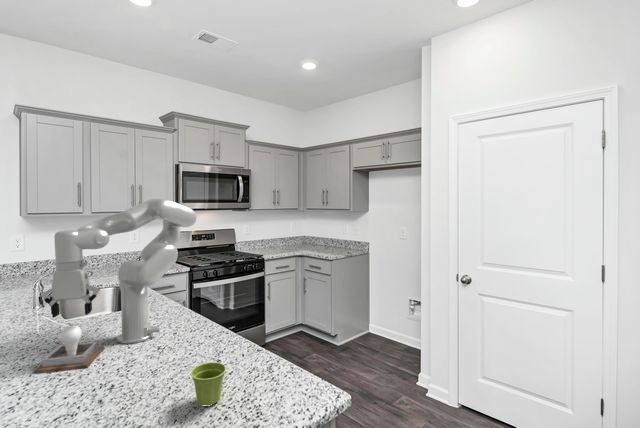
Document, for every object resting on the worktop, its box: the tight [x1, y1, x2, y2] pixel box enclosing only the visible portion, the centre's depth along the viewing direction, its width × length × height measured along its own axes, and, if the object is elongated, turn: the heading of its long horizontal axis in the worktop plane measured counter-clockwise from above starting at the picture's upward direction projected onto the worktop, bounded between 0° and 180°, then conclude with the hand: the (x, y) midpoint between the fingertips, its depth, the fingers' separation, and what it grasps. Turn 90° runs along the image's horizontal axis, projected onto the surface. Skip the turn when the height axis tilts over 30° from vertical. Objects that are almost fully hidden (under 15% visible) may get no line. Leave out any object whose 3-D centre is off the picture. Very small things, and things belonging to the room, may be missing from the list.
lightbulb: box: [59, 325, 83, 356], centre depth 117 cm, size 6×6×11 cm
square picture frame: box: [41, 341, 99, 368], centre depth 117 cm, size 12×12×2 cm
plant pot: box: [190, 361, 227, 406], centre depth 93 cm, size 9×9×9 cm
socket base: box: [33, 345, 105, 374], centre depth 117 cm, size 15×15×1 cm
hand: (72, 314), depth 117 cm, fingers open, 9 cm apart
